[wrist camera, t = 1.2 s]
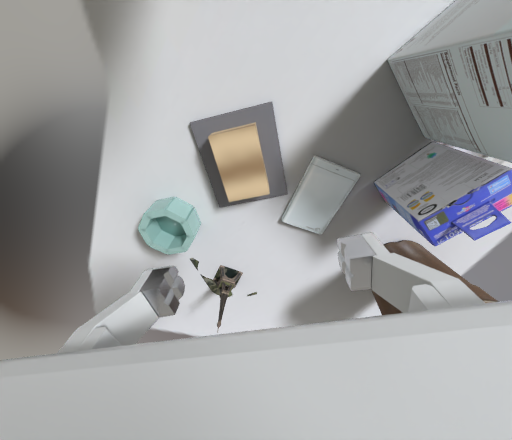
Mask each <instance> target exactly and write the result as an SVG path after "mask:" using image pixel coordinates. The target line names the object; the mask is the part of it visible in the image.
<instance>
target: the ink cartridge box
mask: <svg viewBox="0 0 512 440" xmlns="http://www.w3.org/2000/svg"><path fill="white" fill-rule="evenodd" d="M374 184H375V186H376V187H377V189H378V190H379V192H380V194H381V195H382V197H383V199H384V200H385V202H386V203H387V204H388V205H389V206H391V207H392V208H393V209H394V210H395V211H396V212H397V213H398V214H399V215H400V216H402V217H403V218H404V219H405V220H406V221H407V222H408V223H409V224H410V225H411V226H412V227H413V228H415V229H416V230H417V231H418V232H419V233H420V234H421V235H422V236H423V237H424V238H426V239H427V240H428V241H429V242H430V243H431V244H432V245H434V246H437V245H439V244H441V243H443V242H445V241H446V240H448V239H450V238H452V237H454V236H456V235H458V234H460V233H462V232H463V231H464V233H466V234H467V235H468V236H469V237H471V238H472V239H473V240H477V239H479V238H481V237H483V236H485V235H487V234H489V233H491V232H493V231H495V230H497V229H500V228H502V227H504V226H506V225H508V224H510V223H511V222H510V221H509V220H508V219H507V218H506V217H505V216H504V215H503V214H502V213H501V211H503V210H505V209H507V208H509V207H511V206H512V168H509V167H506V166H503V165H500V164H497V163H494V162H491V161H488V160H486V159H483V158H480V157H477V156H473V155H471V154H468V153H465V152H462V151H459V150H456V149H453V148H450V147H447V146H444V145H441V144H439V143H436V142H431V143H430V144H429V145H427V146H426V147H424V148H423V149H421V150H420V151H418V152H417V153H416V154H414V155H413V156H411V157H410V158H408V159H407V160H405V161H404V162H402V163H401V164H400V165H398V166H397V167H395V168H394V169H392V170H391V171H389V172H388V173H386V174H385V175H384V176H382V177H381V178H379V179H378V180H376V181H375V182H374ZM492 216H495V217H496V220H494V221H493V222H492V223H491V224H490V225H489V226H487V227H484V228H481V229H476V230H470V229H469V228H471V227H473V226H475V225H477V224H478V223H480V222H482V221H484V220H486V219H488V218H490V217H492Z"/></svg>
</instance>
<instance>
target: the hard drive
mask: <svg viewBox="0 0 512 440" xmlns="http://www.w3.org/2000/svg"><path fill="white" fill-rule="evenodd" d="M360 176H361V175H360V174H359V173H357V172H355V171H352V170H350V169H347V168H345V167H342V166H340V165H337V164H335V163H332V162H330V161H328V160H325V159H323V158H320V157H318V156H315V155H314V157H313V158H312V160H311V162H310V164H309V166H308V168H307V170H306V172H305V174H304V176H303V178H302V180H301V182H300V183H299V185H298V187H297V189H296V191H295V193H294V195H293V197H292V199H291V201H290V203H289V205H288V207H287V209H286V211H285V213H284V214H283V216H282V218H281V219H282V222H284V223H287V224H290V225H293V226H296V227H299V228H302V229H305V230H308V231H311V232H314V233H317V234H320V235H322V233H323V232H324V231H325V229H326V227H327V226H328V224H329V223H330V221H331V220H332V218H333V217H334V215H335V214H336V212H337V211H338V209H339V208H340V206H341V205H342V203H343V202H344V200H345V199H346V197H347V196H348V194H349V193H350V191H351V190H352V188H353V187H354V185H355V184H356V182H357V180H358V179H359V177H360Z"/></svg>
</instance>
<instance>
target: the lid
mask: <svg viewBox="0 0 512 440" xmlns="http://www.w3.org/2000/svg"><path fill="white" fill-rule="evenodd" d="M208 139H209V142H210V145H211V148H212V151H213V154H214V157H215V160H216V163H217V166H218V170H219V173H220V176H221V179H222V182H223V185H224V188H225V191H226V194H227V197H228V200H229V202H232V201H237V200H242V199H248V198H253V197H258V196H263V195H268V194H270V192H269V183H268V179H267V174H266V169H265V164H264V160H263V155H262V150H261V145H260V141H259V136H258V131H257V126H256V122H255V123H251V124H247V125H243V126H238V127H234V128H230V129H226V130H222V131H218V132H214V133H212V134H211V135H209V136H208Z"/></svg>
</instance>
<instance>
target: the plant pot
mask: <svg viewBox="0 0 512 440" xmlns="http://www.w3.org/2000/svg"><path fill="white" fill-rule="evenodd" d="M384 246H385V248H386V249H387V250H388V251H389V252H390V253H396V254H398V255H401V256H403V257H405V258H408V259H410V260H413V261H415V262H418V263H420V264H423V265H425V266H428V267H430V268H433V269H435V270H438V271H440V272H443V273H445V274H448V275H450V276H453V277H455V278H458V279H460V280H461V281H462V282H463V283H464V284H465V285H466V286H467V287H468V288H469V289H470V290H472V291H473V292H474V293H475V294H476V295H477V296H478V297H479V298H480V299H481V300H482V301H483V302H484V303H493V302H500V301H497V300H495V299H494V298H493V297H491V296H490V295H489V294H487V293H486V292H485V291H483V290H482V289H481V288H479V287H477V286H475V285H472V284H470V283H469V282H468V281H467V280H465V279H464V278H463V277H461V276H460V275H458V274H457V273H456V272H454V271H453V270H452V269H451V268H449V267H448V266H447V265H445V264H444V263H443V262H442V261H440V260H439V259H438V258H436V257H435V256H434V255H433V254H431V253H430V252H429V251H427V250H426V249H425V248H424V247H423V246H421V245H420V244H418V243H415V242H413V241H407V240H403V241H401V242H390V243H387V244H385V245H384ZM371 290H372V289H371ZM372 292H373V295H374V297H375V299H376V302H377V304H378V306H379V309H380V311H381V313H382V315H390V314H399V313H403V312H401V311H400V310H399V309H397V308H396V307H394V306H393V305H392V304H390V303H389V302H388V301H386V300H385V299H383V298H382V297H381V296H379V295H378V294H376V293H375V292H374V291H372Z"/></svg>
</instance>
